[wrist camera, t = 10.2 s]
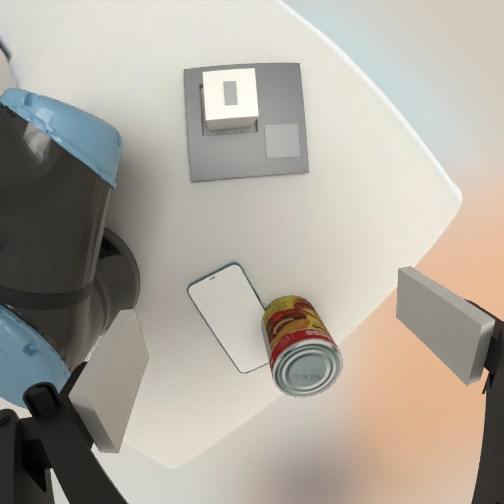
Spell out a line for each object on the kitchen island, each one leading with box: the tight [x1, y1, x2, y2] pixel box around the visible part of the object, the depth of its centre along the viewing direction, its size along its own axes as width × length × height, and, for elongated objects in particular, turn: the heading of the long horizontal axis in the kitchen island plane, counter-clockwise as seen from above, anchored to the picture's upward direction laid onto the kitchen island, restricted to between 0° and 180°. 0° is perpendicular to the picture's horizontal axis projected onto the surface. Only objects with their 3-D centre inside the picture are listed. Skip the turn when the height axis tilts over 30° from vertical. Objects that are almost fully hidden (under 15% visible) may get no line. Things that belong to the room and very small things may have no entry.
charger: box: [203, 68, 259, 131], centre depth 32 cm, size 5×5×9 cm
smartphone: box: [188, 262, 269, 373], centre depth 44 cm, size 8×1×16 cm
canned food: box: [261, 296, 343, 397], centre depth 39 cm, size 8×8×12 cm
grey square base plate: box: [184, 63, 309, 182], centre depth 36 cm, size 14×14×2 cm
